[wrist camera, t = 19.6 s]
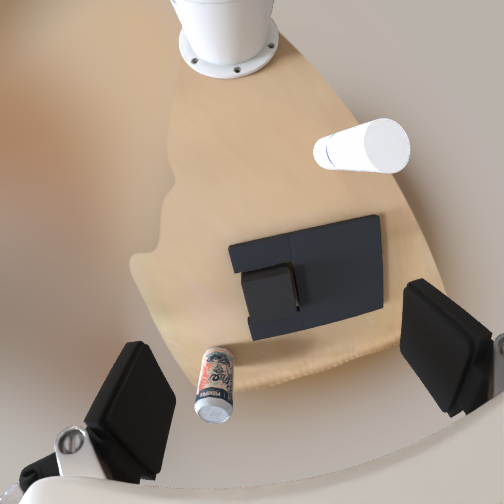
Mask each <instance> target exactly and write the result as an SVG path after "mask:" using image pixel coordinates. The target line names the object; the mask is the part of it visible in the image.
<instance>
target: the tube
mask: <svg viewBox="0 0 504 504" xmlns="http://www.w3.org/2000/svg"><path fill="white" fill-rule="evenodd" d="M409 156H410V143H409V139H408V136H407V134H406V132H405V131H404V130H403V128H402V127H401V126H400V125H399V124H398V123H397V122H395V121H393V120H390V119H386V118H381V119H376V120H373V121H370V122H367V123H364V124H361V125H357V126H354V127H351V128H348V129H345V130H343V131H340V132H337V133H334V134H331V135H328V136H326V137H323V138H321V139H319V140H318V141H317V142H316V144H315V146H314V157H315V160H316V162H317V163H318V164H319V165H320V166H321V167H323V168H325V169H331V170H351V171H366V172H379V173H395V172H398V171H400V170H401V169H402V168H404V167H405V165H406V164H407V162H408V160H409Z"/></svg>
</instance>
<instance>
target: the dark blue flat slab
mask: <svg viewBox="0 0 504 504" xmlns="http://www.w3.org/2000/svg"><path fill="white" fill-rule="evenodd" d="M228 250H229V254H230V258H231V262H232V266H233V269H234V273H239V272H244V271H249V270H253V269H258V268H262V267H267V266H271V265H276V264H280V263H285V262H289V261H291V263H292V269H293V275H294V280H295V286H296V292H297V297H298V303H299V306H296V309H297V315H293V316H288V317H284V318H279V319H275V320H270V321H265V322H261V323H256V324H252V323H251V319H250V317H248V325H249V329H250V332H251V336H252V339H253V341H255V340H260V339H265V338H270V337H275V336H279V335H284V334H288V333H293V332H297V331H301V330H305V329H309V328H314V327H318V326H321V325H325V324H329V323H333V322H337V321H340V320H344V319H348V318H351V317H355V316H358V315H361V314H365V313H368V312H371V311H375V310H378V309H381V308H383V261H382V244H381V231H380V220H379V216H377V215H369V216H364V217H360V218H355V219H350V220H345V221H341V222H336V223H331V224H327V225H322V226H317V227H313V228H308V229H303V230H299V231H294V232H290V233H285V234H280V235H276V236H271V237H267V238H262V239H257V240H253V241H248V242H244V243H240V244H235V245H231V246H229V248H228Z"/></svg>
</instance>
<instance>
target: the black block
mask: <svg viewBox="0 0 504 504" xmlns="http://www.w3.org/2000/svg"><path fill="white" fill-rule="evenodd" d="M241 285H242V289H243V293H244V296H245V300H246V304H247V308H248V312H249V315H250V319H251V323H252V324H256V323H261V322H265V321H270V320H275V319H279V318H284V317H288V316H293V315H297V309H296V303H295V297H294V292H293V286H292V280H291V275H290V271H289V269H288V267H287V264H286V263H284V264H279V265H275V266H270V267H266V268H261V269H256V270H252V271H247V272H243V273H241Z"/></svg>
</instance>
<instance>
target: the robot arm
mask: <svg viewBox="0 0 504 504" xmlns="http://www.w3.org/2000/svg"><path fill="white" fill-rule="evenodd" d="M171 2H172V4H173V7H174V9H175V11H176V13H177V15H178V17H179V19H180V22H181V23H182V26H183V28H182V31H181V33H180V37H179V48H180V51H181V54H182V56H183V58H184V60H185V61H186V62H187V63H188V65H189V66H190V67H192V68H193V69H194V70H195V71H197V72H199V73H201V74H203V75H206V76H209V77H212V78H220V79H233V78H239V77H243V76H246V75H249V74H252V73H254V72H256V71H258V70H260V69H261V68H262V67H264V66H265V65H266V64H267V63H268V62H269V61H270V60H271V59H272V57H273V56H274V54H275V52H276V49H277V47H278V42H279V32H278V29H277V26H276V24H275V22H274V21H273V19H272V18H271V13H272V8H273V3H274V0H171ZM269 47H271V48H272V49H271V48H269ZM195 62H197V63H196V64H194V63H195ZM236 71H240V72H239V73H236ZM491 337H492V332H490V331H489V330H488V329H487V328H486V327H485V326H483V325H482V324H481V323H480V322H478V321H477V320H476V319H475V318H474V317H472V316H471V315H470V314H469V313H468V312H466V311H465V310H464V309H463V308H461V307H460V306H459V305H457V304H456V303H455V302H454V301H452V300H451V299H450V298H448V297H447V296H446V295H444V294H443V293H442V292H441V291H439V290H438V289H437V288H435V287H434V286H432V285H431V284H430V283H428V282H427V281H426V280H424V279H422V278H421V279H417V280H414V281H411V282H409V283H408V284H407V287H406V288H404V292H403V313H402V327H401V338H400V351H401V353H402V355H403V356H404V358H405V359H406V360H407V362H408V363H409V364H410V366H411V367H412V369H413V370H414V371H415V373H416V374H417V375H418V377H419V378H420V380H421V381H422V383H423V384H424V385H425V387H426V388H427V389H428V391H429V393H430V394H431V395H432V397H433V398H434V400H435V401H436V403H437V404H438V406H439V407H440V409H441V410H442V411H443V412H447V413H448V414H449V416H450V417H453V416H455V415H456V414H458V413H460V412H461V411H462V410H463V411H464V412H465V414H466V416H465V417H463V418H461V419H460V420H458V421H456V422H454V423H453V424H451V425H449V426H447V427H446V428H444V429H442V430H440V431H438V432H436V433H434V434H432V435H431V436H429V437H427V438H425V439H423V440H420V441H419V442H416V443H414V444H412V445H410V446H407V447H405V448H403V449H401V450H398V451H396V452H393V453H391V454H388V455H386V456H383V457H381V458H378V459H375V460H372V461H369V462H366V463H363V464H360V465H357V466H354V467H351V468H348V469H344V470H341V471H337V472H333V473H330V474H326V475H321V476H317V477H312V478H308V479H303V480H298V481H292V482H286V483H280V484H273V485H265V486H257V487H244V488H228V489H183V488H168V487H157V486H147V485H140V479H145V480H155V478H156V474H158V473H159V472H160V470H161V466H162V462H163V457H164V452H165V448H166V443H167V439H168V434H169V430H170V426H171V422H172V417H173V413H174V409H175V405H176V397H175V394H174V392H173V391H172V389H171V387H170V385H169V384H168V382H167V380H166V378H165V376H164V375H163V373H162V371H161V369H160V367H159V366H158V363H157V361H156V359H155V357H154V355H153V353H152V351H151V349H150V347H149V346H148V345H147V344H144V343H143V342H142V341H135V342H128V343H126V344H125V346H124V348H123V350H122V351H121V353H120V355H119V356H118V358H117V360H116V362H115V363H114V365H113V367H112V369H111V371H110V372H109V374H108V376H107V378H106V380H105V381H104V383H103V385H102V387H101V389H100V391H99V393H98V395H97V396H96V398H95V400H94V402H93V404H92V406H91V408H90V410H89V412H88V413H87V415H86V417H85V420H84V422H85V423H86V425H87V427H86V429H84V428H83V427H81V426H71V427H67V428H66V429H64V430H63V431H61V432H60V433H59V434H58V436H57V438H56V440H55V443H54V447H55V452H54V453H52V454H51V455H49V456H46V457H45V458H43V459H40V460H38V461H36V462H35V463H32V464H30V465H29V466H27V467H25V468H24V469H23V470H22V472H21V475H20V479H19V481H20V485H19V484H18V483H16V484H15V485H14V486H13V487H12V488H11V489H9V490H8V491H7V492H6V493H5V494H3V495H2V496H1V497H0V504H504V333H503V334H501V335H499V336H498V337H497V338H496V339H495V341H493V340H492V339H491Z"/></svg>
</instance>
